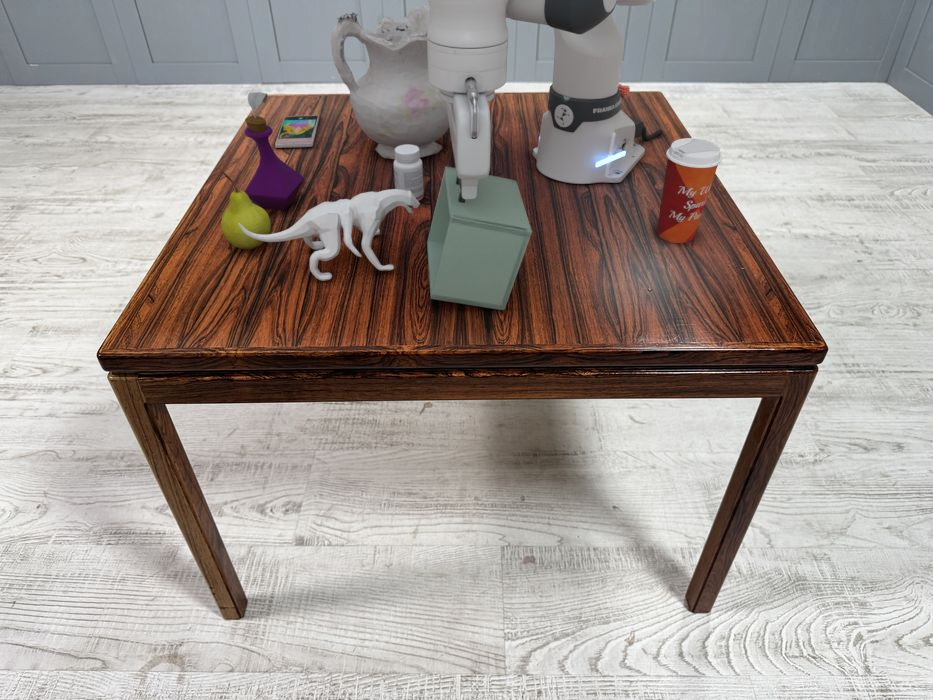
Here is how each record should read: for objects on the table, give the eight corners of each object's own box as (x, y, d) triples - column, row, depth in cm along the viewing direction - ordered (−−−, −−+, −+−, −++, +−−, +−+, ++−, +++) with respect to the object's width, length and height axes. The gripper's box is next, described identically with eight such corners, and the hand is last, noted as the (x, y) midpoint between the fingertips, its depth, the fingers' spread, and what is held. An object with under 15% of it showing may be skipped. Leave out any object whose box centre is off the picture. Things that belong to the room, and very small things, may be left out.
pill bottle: (428, 193, 112) (427, 146, 106) (415, 205, 108) (413, 157, 103) (404, 188, 113) (401, 141, 108) (390, 200, 110) (386, 152, 104)
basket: (492, 254, 97) (523, 158, 88) (504, 310, 86) (540, 208, 77) (426, 242, 95) (450, 143, 85) (430, 298, 84) (458, 192, 75)
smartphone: (319, 115, 137) (312, 143, 125) (319, 118, 137) (313, 147, 126) (284, 116, 136) (274, 144, 125) (285, 119, 137) (275, 148, 125)
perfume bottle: (290, 216, 105) (268, 104, 94) (247, 211, 107) (220, 100, 95) (308, 195, 111) (289, 87, 99) (267, 191, 112) (243, 83, 101)
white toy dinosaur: (432, 268, 94) (429, 205, 87) (253, 297, 88) (236, 233, 82) (412, 227, 103) (409, 168, 96) (249, 252, 97) (233, 190, 91)
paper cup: (672, 251, 97) (694, 162, 88) (639, 228, 103) (656, 142, 94) (712, 239, 100) (736, 151, 91) (678, 217, 105) (698, 132, 96)
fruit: (282, 237, 100) (267, 163, 93) (261, 261, 95) (243, 185, 88) (242, 232, 102) (223, 158, 94) (219, 254, 97) (197, 179, 89)
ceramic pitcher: (379, 187, 116) (373, 39, 99) (323, 144, 126) (309, 4, 109) (473, 156, 126) (483, 17, 109) (415, 118, 137) (415, -13, 120)
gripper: (507, 96, 65) (501, 221, 74) (486, 40, 81) (483, 148, 89) (443, 97, 64) (445, 222, 73) (435, 40, 80) (437, 149, 89)
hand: (466, 181), depth 81 cm, fingers closed on basket, 7 cm apart
